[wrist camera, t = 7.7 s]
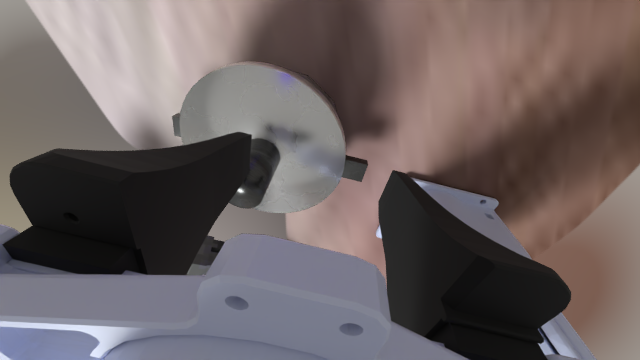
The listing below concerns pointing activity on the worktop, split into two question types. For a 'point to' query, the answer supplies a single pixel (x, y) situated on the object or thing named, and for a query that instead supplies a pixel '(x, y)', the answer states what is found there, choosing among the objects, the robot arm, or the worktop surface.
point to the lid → (270, 133)
